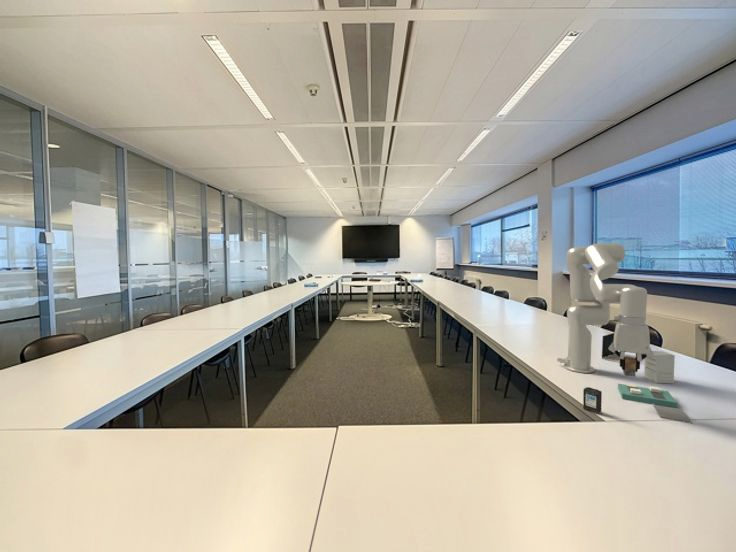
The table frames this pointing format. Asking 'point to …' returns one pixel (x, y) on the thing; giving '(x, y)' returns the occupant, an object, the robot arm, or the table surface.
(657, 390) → the switch tab right
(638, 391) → the switch tab left
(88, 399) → the table surface
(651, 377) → the supplement box
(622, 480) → the table surface
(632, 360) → the brown cardboard box
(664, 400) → the switch panel
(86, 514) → the table surface
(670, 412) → the mat
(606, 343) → the laptop
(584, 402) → the ink cartridge
